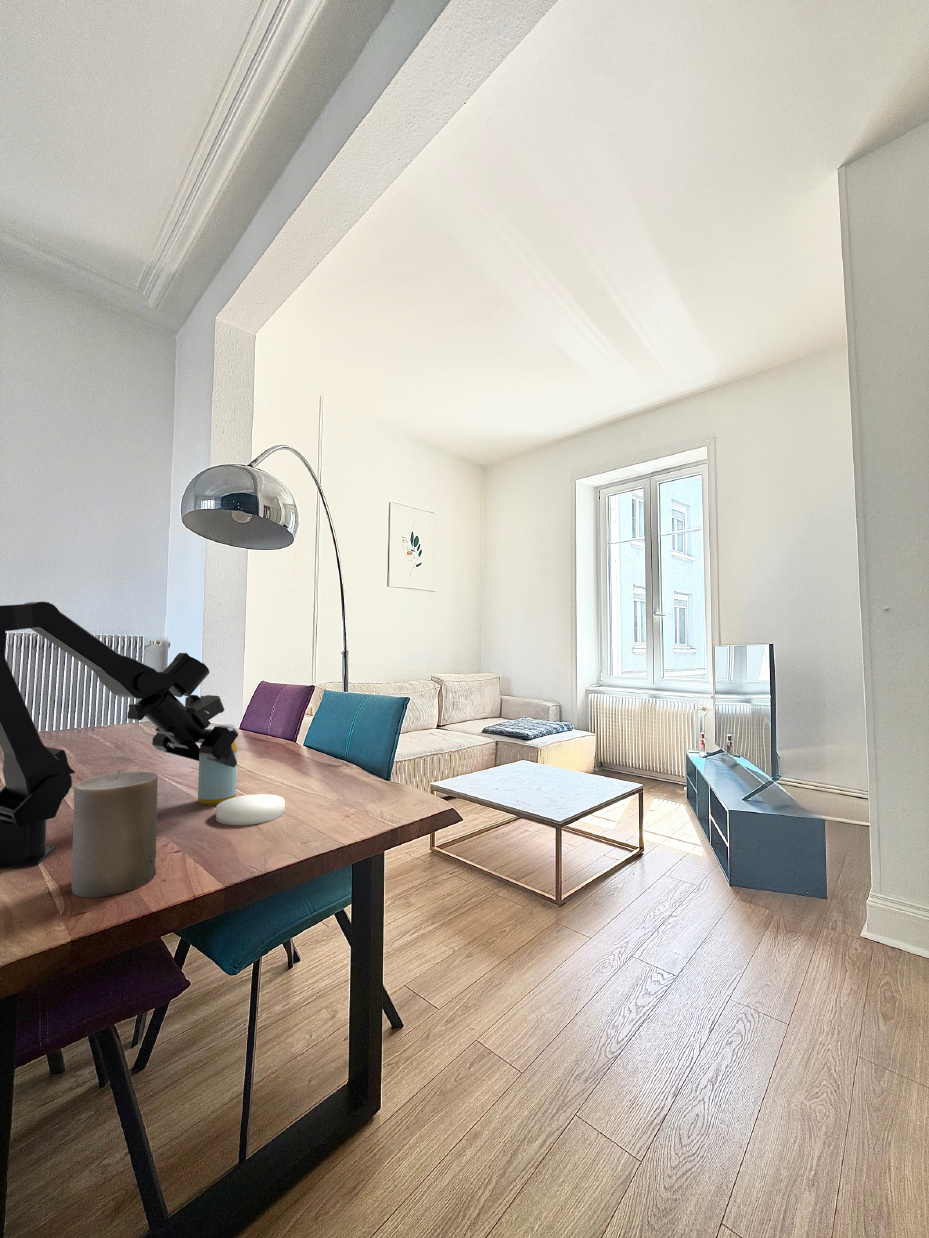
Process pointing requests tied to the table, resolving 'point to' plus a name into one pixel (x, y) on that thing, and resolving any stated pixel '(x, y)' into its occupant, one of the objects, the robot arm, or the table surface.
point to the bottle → (216, 778)
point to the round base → (250, 809)
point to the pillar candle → (114, 833)
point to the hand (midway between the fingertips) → (219, 762)
